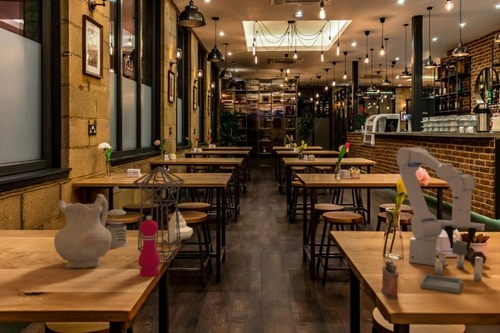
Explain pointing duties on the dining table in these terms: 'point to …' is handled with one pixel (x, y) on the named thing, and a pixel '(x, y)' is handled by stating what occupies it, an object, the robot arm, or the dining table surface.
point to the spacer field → (459, 265)
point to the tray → (441, 283)
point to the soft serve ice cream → (184, 230)
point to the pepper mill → (149, 249)
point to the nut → (459, 248)
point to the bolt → (474, 255)
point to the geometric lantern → (162, 171)
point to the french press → (115, 227)
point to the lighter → (390, 281)
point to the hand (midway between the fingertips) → (459, 248)
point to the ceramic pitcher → (83, 233)
